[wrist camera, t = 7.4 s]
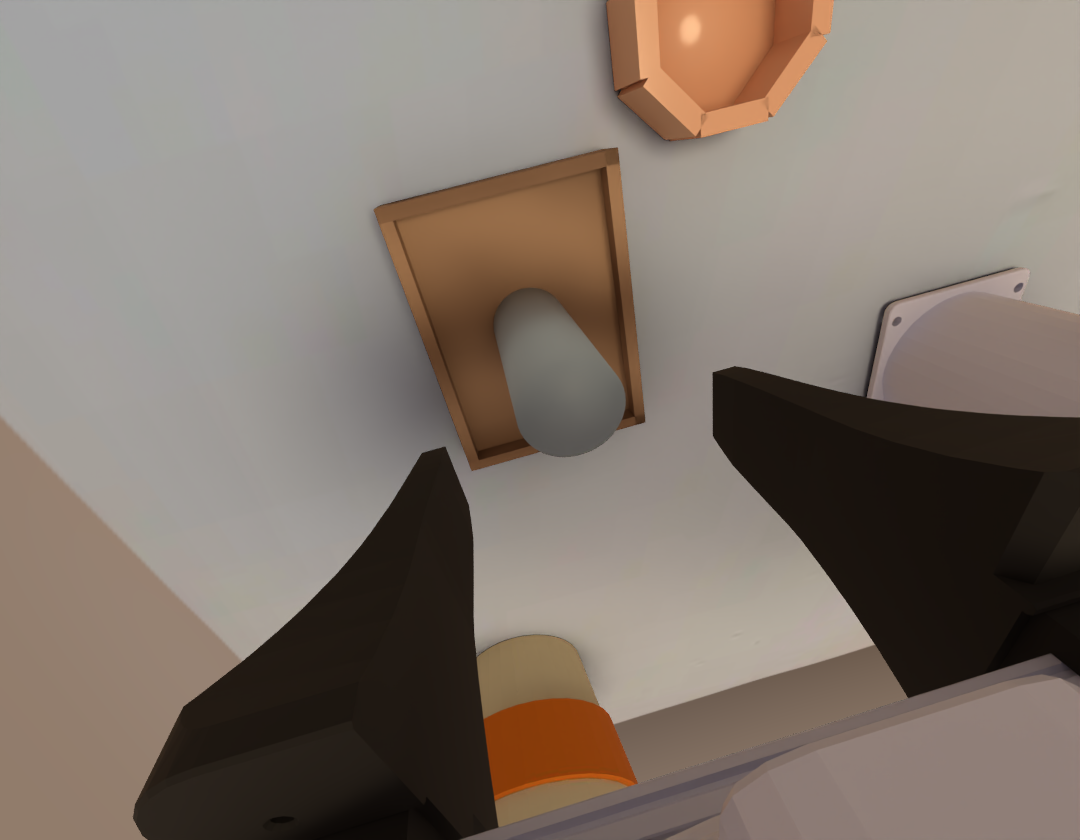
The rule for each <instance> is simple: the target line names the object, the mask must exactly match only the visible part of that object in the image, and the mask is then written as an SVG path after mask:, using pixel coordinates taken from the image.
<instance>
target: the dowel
mask: <svg viewBox="0 0 1080 840" xmlns="http://www.w3.org/2000/svg"><path fill="white" fill-rule="evenodd" d="M494 333H495V337H496V341H497V345H498V349H499V353H500V357H501V361H502V365H503V369H504V373H505V377H506V381H507V385H508V389H509V393H510V397H511V401H512V405H513V409H514V413H515V417H516V421H517V425H518V428H519V430H520V433H521V434H522V436H523V438H524V439H525V440H526V441H527V442H528V443H529V444H530V445H531V446H532V447H533V448H535V449H536V450H538V451H540V452H542V453H545V454H548V455H551V456H557V457H571V456H577V455H581V454H584V453H587V452H589V451H591V450H593V449H595V448H597V447H599V446H600V445H602V444H603V443H604V442H605V441H607V440H608V439H609V438H610V437H611V436H612V434H613V433H614V432H615V431H616V429H617V428H618V426H619V424H620V422H621V420H622V418H623V415H624V411H625V405H626V398H625V391H624V387H623V385H622V383H621V381H620V379H619V377H618V376H617V375H616V373H615V372H614V371H613V370H612V368H611V367H610V366H609V364H608V363H607V362H606V361H605V359H604V358H603V357H602V356H601V354H600V353H599V352H598V350H597V349H596V348H595V347H594V345H593V344H592V343H591V342H590V340H589V339H588V338H587V337H586V335H585V334H584V333H583V331H582V330H581V329H580V328H579V326H578V325H577V324H576V323H575V321H574V320H573V319H572V317H571V316H570V315H569V314H568V312H567V311H566V310H565V309H564V307H563V306H562V305H561V304H560V302H559V301H558V300H557V299H556V298H555V297H554V296H553V295H552V294H550V293H549V292H547V291H545V290H542V289H539V288H523V289H519V290H517V291H514V292H513V293H511V294H509V295H508V296H507V297H506V298H505V299H504V300H503V301H502V302H501V303H500V305H499V306H498V308H497V310H496V313H495V316H494Z"/></svg>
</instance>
